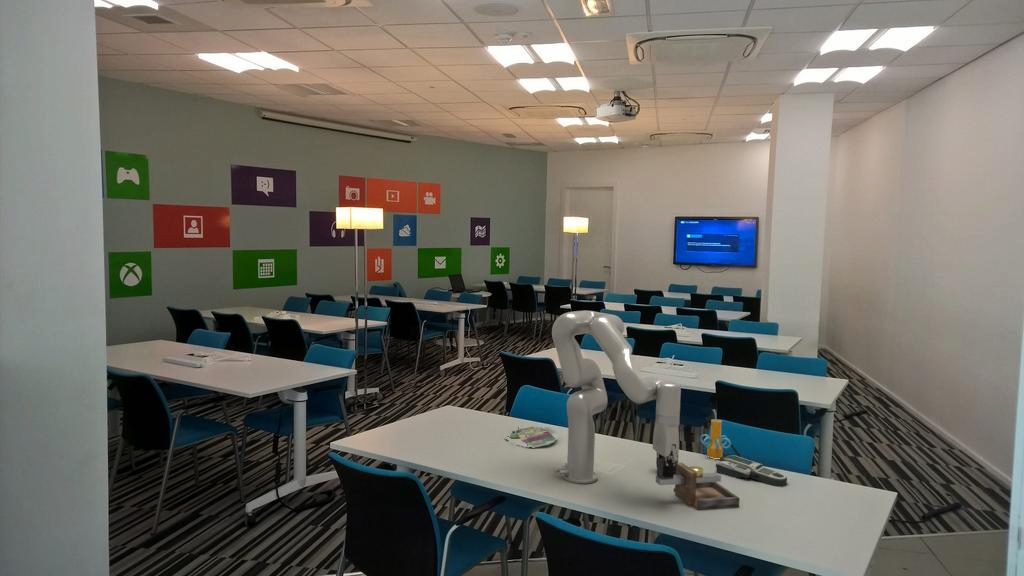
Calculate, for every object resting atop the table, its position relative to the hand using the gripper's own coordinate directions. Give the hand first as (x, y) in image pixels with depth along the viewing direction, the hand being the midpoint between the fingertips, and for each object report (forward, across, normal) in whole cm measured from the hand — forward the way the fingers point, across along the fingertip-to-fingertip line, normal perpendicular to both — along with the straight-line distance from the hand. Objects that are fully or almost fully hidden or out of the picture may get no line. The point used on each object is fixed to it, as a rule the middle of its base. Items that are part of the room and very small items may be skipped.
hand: (665, 473), depth 208 cm
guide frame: (+9, 0, +14) cm, 17 cm away
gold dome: (+1, 0, +11) cm, 11 cm away
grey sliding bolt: (+3, 0, +8) cm, 9 cm away
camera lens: (+9, -25, +14) cm, 30 cm away
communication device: (+10, -16, +44) cm, 47 cm away
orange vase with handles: (+9, -39, +42) cm, 58 cm away
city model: (+10, -71, -27) cm, 76 cm away
